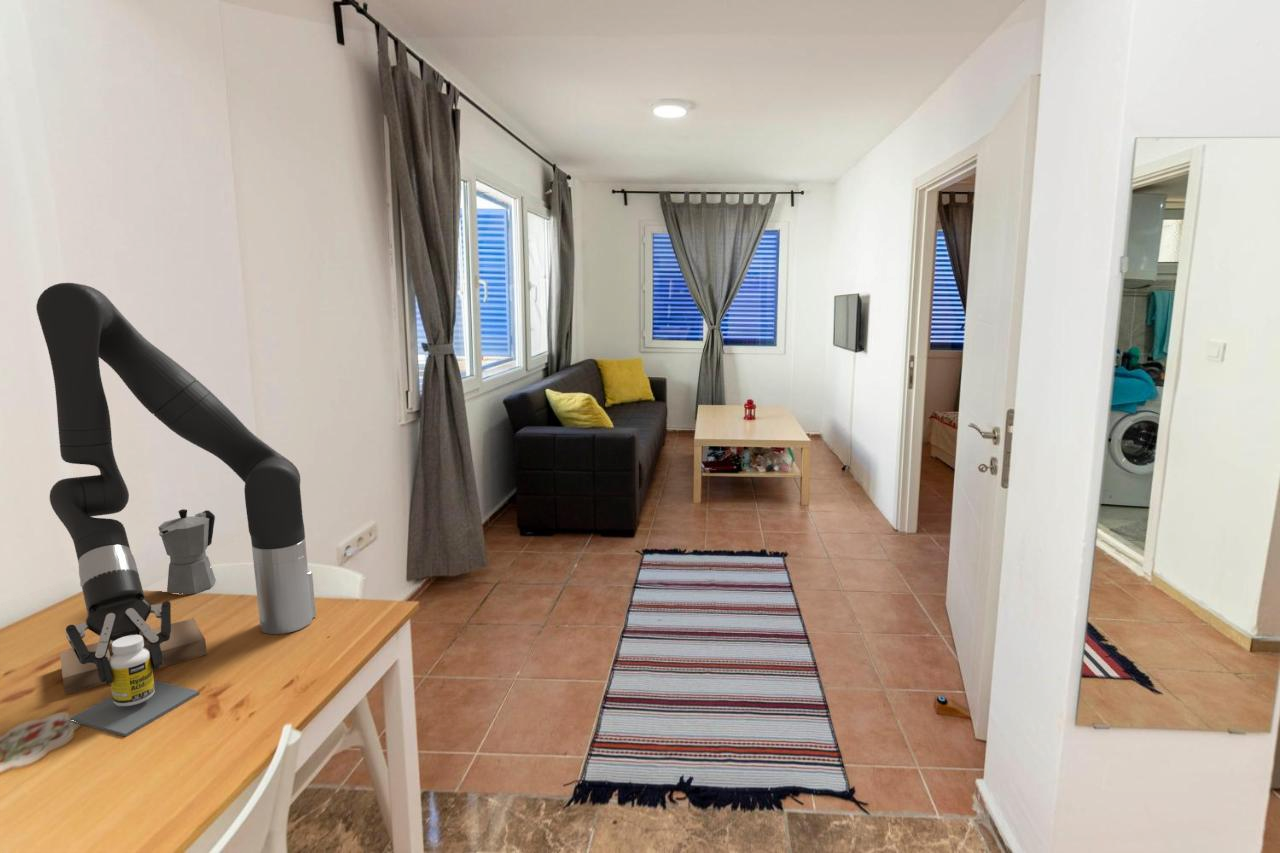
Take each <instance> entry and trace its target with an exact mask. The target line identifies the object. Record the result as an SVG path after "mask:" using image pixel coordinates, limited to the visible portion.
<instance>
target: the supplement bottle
mask: <svg viewBox="0 0 1280 853" xmlns="http://www.w3.org/2000/svg"><path fill="white" fill-rule="evenodd" d="M112 652H113V655H112V656H111V657H110V659H109V661H108V662H109V666H110V670H111V675H112V684H110V686H111V696H113V702H114V703H115V704H116V705H118V706H131V705H136V704H139V703H141V702H144V701H145V700H147V699H149V698H150V697H151V696H152V695H153V694H154V692H155V686H154V680H155V679H154V671H153V670H152V661H151V654H150V651H149V650H148V649H147V648H144V641H143V637H142V636H141V635H129V636H125V637H121V638H119V639H117V640H115V641H114V642H113V643H112Z"/></svg>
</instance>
